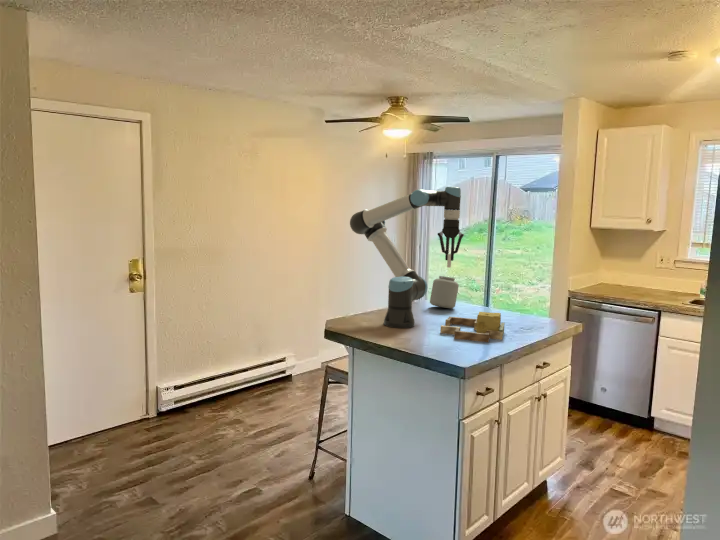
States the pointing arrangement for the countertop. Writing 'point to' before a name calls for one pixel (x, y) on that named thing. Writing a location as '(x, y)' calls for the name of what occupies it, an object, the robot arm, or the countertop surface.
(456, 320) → the trap lane
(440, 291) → the jar
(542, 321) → the countertop surface
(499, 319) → the cheese
